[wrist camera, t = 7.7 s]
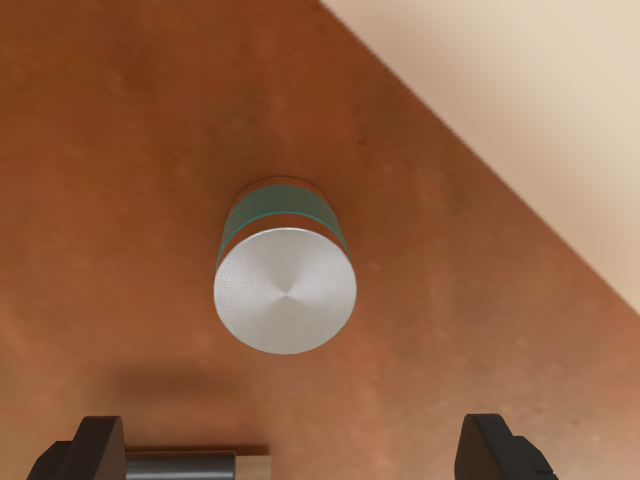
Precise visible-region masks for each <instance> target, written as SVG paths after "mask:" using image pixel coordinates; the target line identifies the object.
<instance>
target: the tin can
mask: <svg viewBox="0 0 640 480" xmlns="http://www.w3.org/2000/svg"><path fill="white" fill-rule="evenodd" d="M213 296H214V303H215V307H216V311H217V313H218V316H219V318H220V319H221V321H222V323H223V325H224V326H225V327H226V328H227V330H228V331H229V332H230V333H231V334H232V335H233V336H234V337H235V338H237V339H238V340H239V341H241V342H242V343H244V344H245V345H247V346H249V347H251V348H253V349H256V350H259V351H262V352H265V353H271V354H281V355H286V354H296V353H302V352H305V351H309V350H312V349H314V348H317V347H319V346H321V345H322V344H324V343H326V342H327V341H329V340H330V339H332V338H333V337H334V336H335V335H336V334H337V333H338V332H339V331H340V330H341V329H342V328H343V327H344V325H345V324H346V322H347V321H348V319H349V318H350V316H351V314H352V312H353V309H354V306H355V303H356V297H357V281H356V276H355V272H354V269H353V266H352V261H351V257H350V253H349V250H348V248H347V245H346V242H345V239H344V236H343V233H342V231H341V228H340V225H339V222H338V220H337V217H336V215H335V213H334V211H333V209H332V206H331V204H330V203H329V201H328V199H327V198H326V197H325V196H324V194H323V193H322V192H321V191H319V190H318V189H317V188H316V187H314V186H313V185H311V184H310V183H308V182H306V181H303V180H301V179H298V178H293V177H286V176H276V177H270V178H266V179H262V180H260V181H258V182H255V183H253V184H252V185H250V186H249V187H247V188H246V189H245V190H243V191H242V192H241V193H240V194H239V196H238V197H237V198H236V199H235V201H234V202H233V204H232V206H231V208H230V210H229V213H228V217H227V220H226V223H225V226H224V231H223V235H222V240H221V245H220V250H219V254H218V259H217V264H216V276H215V280H214V288H213Z"/></svg>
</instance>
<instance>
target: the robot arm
mask: <svg viewBox="0 0 640 480" xmlns="http://www.w3.org/2000/svg"><path fill="white" fill-rule="evenodd" d="M454 472H455V480H559V479H558V478H557V476H556V475H555V474H553V470H552V468H551V467H550V465H549V464H548V462H547V460H546V459H545V457H544V456H543V454H542V453H541V451H539V450H538V449H537V448H536V447H535V446H534V445H532V444H531V443H530V442H529V441H528V440H527V439H526V438H524V437H523V436H513V435H512V433H511V431H510V430H509V428H508V426H507V425H506V423H505V421H504V420H503V418H502V417H501V416H500V415H499V414H467V415H466V416H465V418H464V421H463V425H462V430H461V435H460V440H459V445H458V450H457V455H456V459H455V467H454ZM26 480H126V457H125V446H124V435H123V424H122V419H121V417H120V416H86V417H84V418H83V420H82V422H81V424H80V426H79V428H78V430H77V432H76V434H75V437H74V439H73V441H56V442H55V443H54V444H53V445H52V446H51V447H50V448H49V449H48V450H46V451H45V452H44V453H43V454H42V455H41V456H40V457H39V458H38V459H37V460H36V462H35V464H34V466H33V468H32V470H31V472H30V474H29V476H28V477H27V479H26Z"/></svg>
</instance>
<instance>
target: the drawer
mask: <svg viewBox="0 0 640 480" xmlns="http://www.w3.org/2000/svg"><path fill="white" fill-rule="evenodd" d="M125 457H126V480H271V456H270V455H268V456H236V451H235V450H224V451H161V452H125Z"/></svg>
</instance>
